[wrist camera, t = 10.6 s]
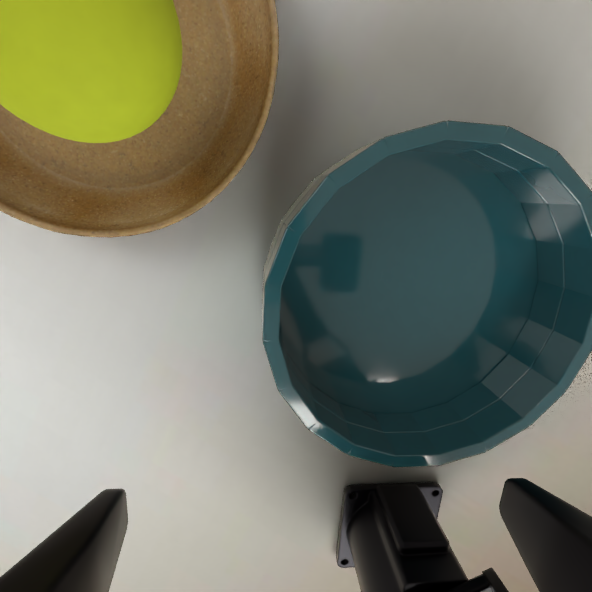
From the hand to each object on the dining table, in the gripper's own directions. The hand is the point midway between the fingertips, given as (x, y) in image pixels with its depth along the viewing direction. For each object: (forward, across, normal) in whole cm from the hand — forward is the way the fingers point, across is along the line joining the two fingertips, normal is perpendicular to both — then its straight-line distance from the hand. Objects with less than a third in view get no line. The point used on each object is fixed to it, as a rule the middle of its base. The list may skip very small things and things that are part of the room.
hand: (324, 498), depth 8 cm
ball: (+8, +8, -12) cm, 17 cm away
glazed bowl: (+12, -6, -2) cm, 14 cm away
